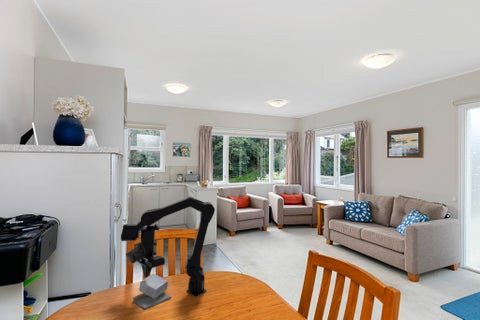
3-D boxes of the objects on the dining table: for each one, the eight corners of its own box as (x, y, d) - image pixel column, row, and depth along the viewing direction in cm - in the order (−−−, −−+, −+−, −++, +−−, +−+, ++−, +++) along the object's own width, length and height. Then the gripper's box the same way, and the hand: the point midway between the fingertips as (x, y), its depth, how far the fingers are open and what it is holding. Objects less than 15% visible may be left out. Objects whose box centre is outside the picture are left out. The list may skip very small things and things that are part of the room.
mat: (159, 290, 114) (159, 287, 114) (171, 298, 109) (171, 294, 109) (132, 301, 105) (133, 297, 105) (144, 309, 99) (144, 305, 99)
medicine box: (138, 290, 109) (153, 299, 106) (140, 280, 109) (155, 290, 105) (151, 282, 116) (166, 290, 113) (153, 272, 116) (168, 281, 112)
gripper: (118, 239, 111) (117, 276, 110) (141, 249, 99) (139, 291, 98) (143, 234, 119) (141, 268, 119) (166, 243, 107) (165, 281, 107)
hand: (146, 277), depth 111 cm, fingers closed
